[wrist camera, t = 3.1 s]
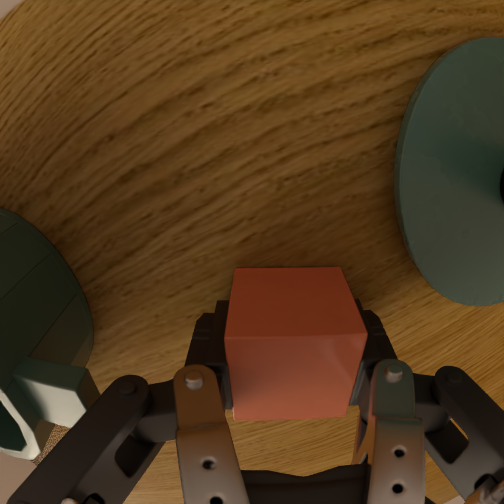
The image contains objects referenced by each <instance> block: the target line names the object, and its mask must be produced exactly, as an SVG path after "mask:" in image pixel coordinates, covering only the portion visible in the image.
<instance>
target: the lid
mask: <svg viewBox="0 0 504 504" xmlns="http://www.w3.org/2000/svg"><path fill="white" fill-rule="evenodd" d="M394 199H395V210H396V215H397V220H398V226H399V229H400V233H401V236H402V239H403V243H404V245H405V247H406V249H407V252H408V254H409V256H410V258H411V260H412V262H413V263H414V265H415V266H416V268H417V269H418V271H419V272H420V274H421V275H422V276H423V277H424V279H425V280H426V281H427V282H428V283H429V284H430V285H431V286H432V288H434V289H435V290H436V291H437V292H439V293H440V294H441V295H442V296H444V297H446V298H448V299H450V300H452V301H454V302H457V303H460V304H463V305H469V306H488V305H493V304H498V303H501V302H504V38H501V37H483V38H477V39H473V40H469V41H465V42H463V43H461V44H459V45H457V46H455V47H453V48H451V49H450V50H448V51H447V52H446V53H444V54H443V55H442V56H440V57H439V58H438V59H437V60H436V61H435V62H434V63H433V65H432V66H431V67H430V68H429V69H428V70H427V72H426V73H425V75H424V76H423V77H422V79H421V80H420V82H419V83H418V85H417V87H416V89H415V91H414V93H413V95H412V97H411V99H410V101H409V103H408V106H407V109H406V112H405V115H404V118H403V120H402V124H401V128H400V132H399V137H398V141H397V146H396V155H395V162H394Z"/></svg>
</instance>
